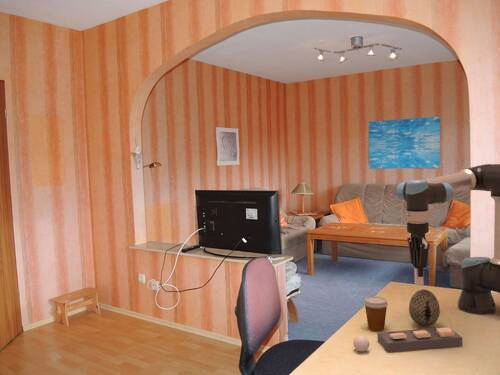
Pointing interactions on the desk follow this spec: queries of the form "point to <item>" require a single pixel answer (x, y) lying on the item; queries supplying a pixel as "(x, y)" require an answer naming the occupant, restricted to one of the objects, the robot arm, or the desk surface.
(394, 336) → the rocker
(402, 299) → the desk surface
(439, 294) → the desk surface
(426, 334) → the middle rocker
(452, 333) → the rocker
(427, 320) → the decorative egg
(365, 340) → the white ball
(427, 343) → the power strip
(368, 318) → the disposable coffee cup
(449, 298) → the desk surface
